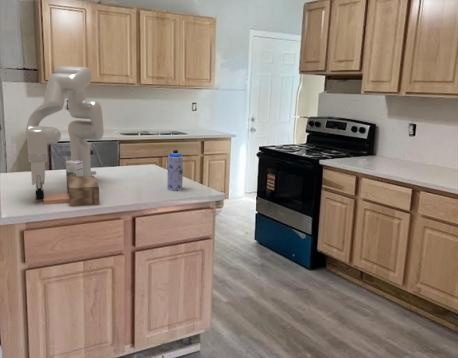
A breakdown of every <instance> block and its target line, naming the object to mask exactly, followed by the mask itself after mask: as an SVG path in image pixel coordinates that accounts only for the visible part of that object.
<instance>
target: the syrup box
mask: <svg viewBox="0 0 458 358" xmlns="http://www.w3.org/2000/svg"><path fill="white" fill-rule="evenodd" d="M65 172H66V173H65V175H66V178H65V179H67V177H74V176H83V161H79V160H71V159H69V160H66V161H65ZM66 191H67V192H68V189H67V188H66Z"/></svg>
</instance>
